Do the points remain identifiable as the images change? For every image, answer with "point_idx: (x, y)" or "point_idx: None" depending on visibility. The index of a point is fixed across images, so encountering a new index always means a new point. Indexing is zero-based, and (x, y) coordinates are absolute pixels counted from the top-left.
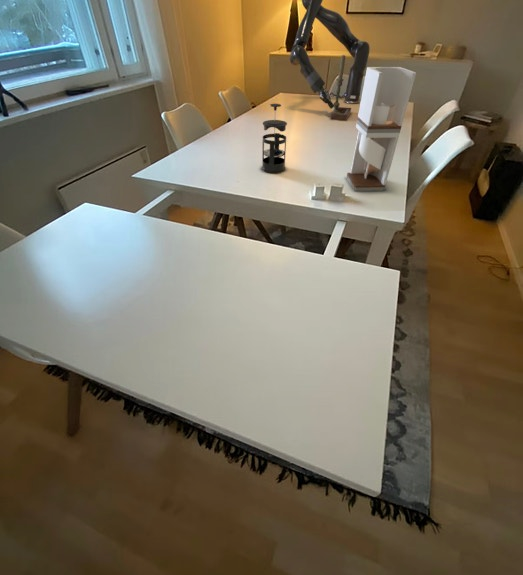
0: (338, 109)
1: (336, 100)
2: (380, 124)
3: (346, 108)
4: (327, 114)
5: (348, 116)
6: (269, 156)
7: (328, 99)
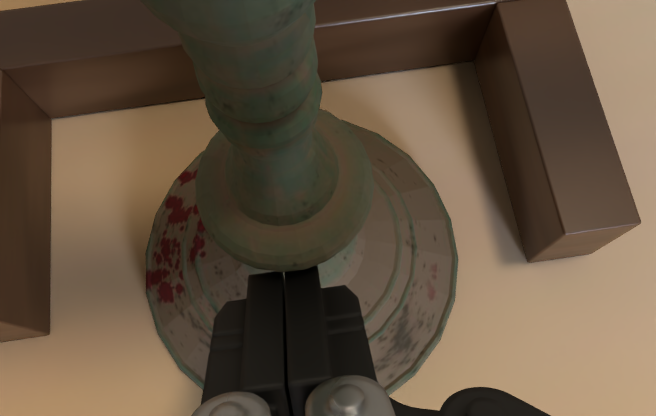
0: (14, 262)
1: (310, 150)
2: None
3: (3, 90)
4: None
5: None
6: None
7: (506, 412)
